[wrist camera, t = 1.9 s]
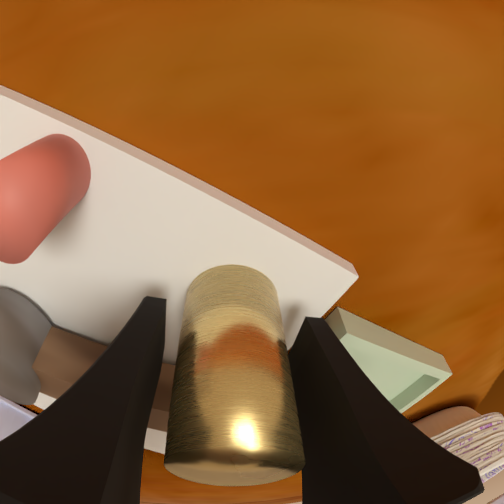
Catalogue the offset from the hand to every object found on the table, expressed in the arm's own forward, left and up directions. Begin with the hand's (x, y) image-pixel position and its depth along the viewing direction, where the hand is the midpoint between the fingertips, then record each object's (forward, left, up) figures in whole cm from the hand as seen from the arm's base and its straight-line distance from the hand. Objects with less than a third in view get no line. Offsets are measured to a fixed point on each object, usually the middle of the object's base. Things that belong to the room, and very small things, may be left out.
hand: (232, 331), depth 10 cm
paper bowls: (-7, -24, -2) cm, 26 cm away
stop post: (+2, +7, -2) cm, 8 cm away
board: (-6, +8, -2) cm, 10 cm away
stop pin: (0, 0, -1) cm, 1 cm away
